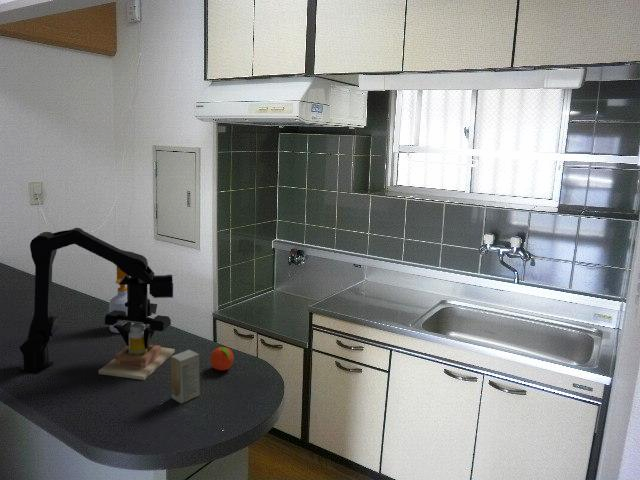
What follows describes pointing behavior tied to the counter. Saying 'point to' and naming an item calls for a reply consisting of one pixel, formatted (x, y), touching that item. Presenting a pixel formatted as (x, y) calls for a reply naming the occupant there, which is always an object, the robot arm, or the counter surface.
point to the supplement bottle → (137, 340)
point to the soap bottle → (119, 298)
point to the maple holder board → (136, 362)
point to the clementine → (221, 358)
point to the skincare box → (185, 376)
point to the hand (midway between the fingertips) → (138, 347)
